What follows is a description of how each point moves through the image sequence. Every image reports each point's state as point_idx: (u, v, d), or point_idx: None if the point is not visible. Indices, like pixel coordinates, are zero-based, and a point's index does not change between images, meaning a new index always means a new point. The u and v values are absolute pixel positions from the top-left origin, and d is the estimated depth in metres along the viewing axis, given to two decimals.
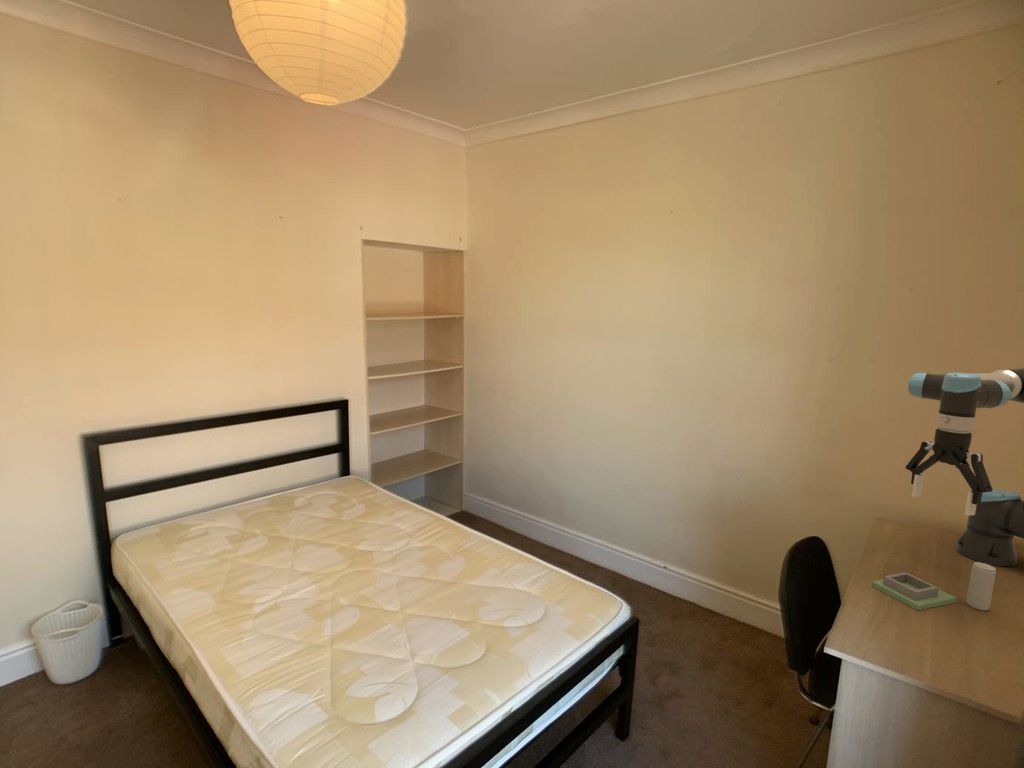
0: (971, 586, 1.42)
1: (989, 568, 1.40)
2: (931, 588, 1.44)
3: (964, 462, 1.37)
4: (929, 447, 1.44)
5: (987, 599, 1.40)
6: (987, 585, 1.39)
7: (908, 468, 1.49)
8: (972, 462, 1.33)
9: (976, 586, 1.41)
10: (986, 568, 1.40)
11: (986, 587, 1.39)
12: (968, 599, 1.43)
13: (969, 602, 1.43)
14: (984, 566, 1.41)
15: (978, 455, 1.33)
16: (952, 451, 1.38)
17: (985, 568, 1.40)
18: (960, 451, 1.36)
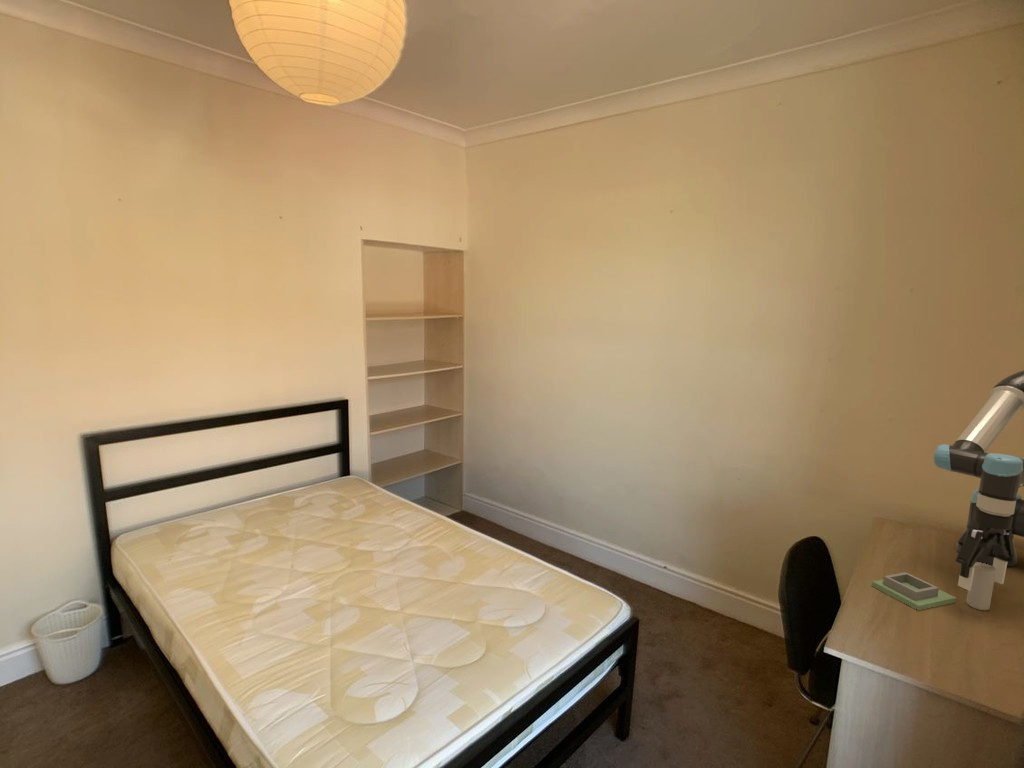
0: (971, 586, 1.42)
1: (989, 568, 1.40)
2: (931, 588, 1.44)
3: None
4: None
5: (987, 599, 1.40)
6: (987, 585, 1.39)
7: None
8: None
9: (976, 586, 1.41)
10: (986, 568, 1.40)
11: (986, 587, 1.39)
12: (968, 599, 1.43)
13: (969, 602, 1.43)
14: (984, 566, 1.41)
15: (973, 531, 1.37)
16: None
17: (985, 568, 1.40)
18: None
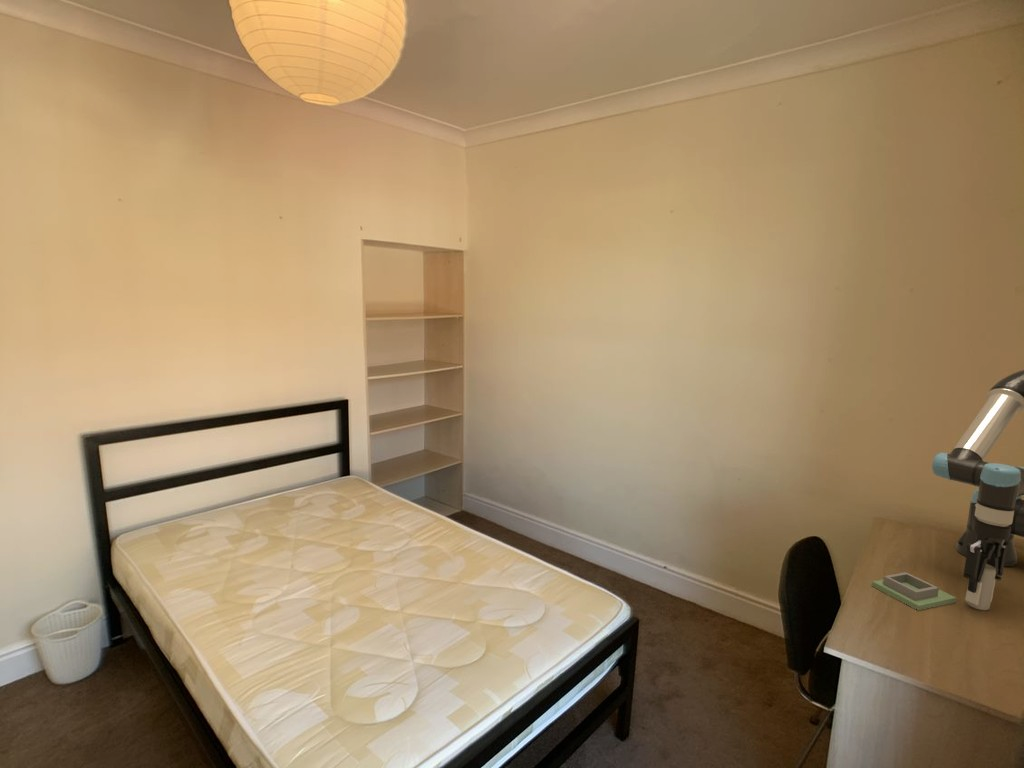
0: None
1: (989, 568, 1.40)
2: (931, 588, 1.44)
3: None
4: None
5: (987, 599, 1.40)
6: (987, 585, 1.39)
7: None
8: None
9: None
10: (986, 568, 1.40)
11: (986, 587, 1.39)
12: None
13: (969, 602, 1.43)
14: None
15: (971, 546, 1.38)
16: None
17: (985, 568, 1.40)
18: None
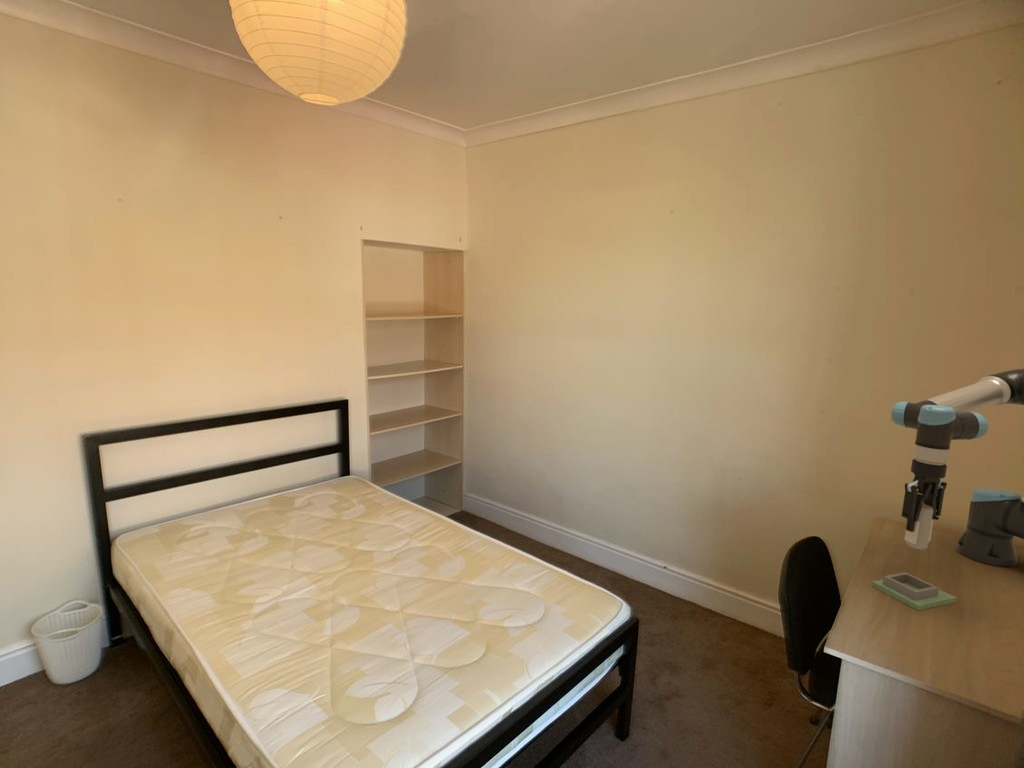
0: None
1: (927, 508, 1.43)
2: (931, 588, 1.44)
3: None
4: None
5: (925, 538, 1.42)
6: (924, 524, 1.42)
7: None
8: None
9: None
10: (924, 508, 1.42)
11: (924, 526, 1.42)
12: None
13: (908, 542, 1.45)
14: (922, 506, 1.44)
15: (908, 486, 1.41)
16: None
17: (923, 508, 1.42)
18: None
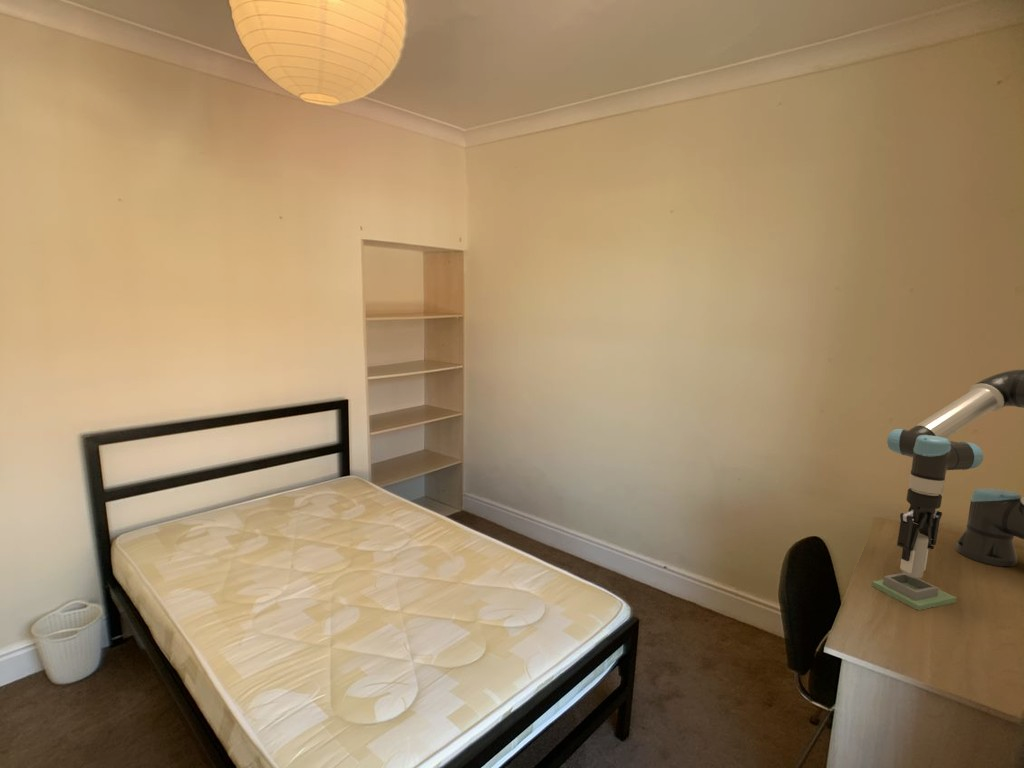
0: None
1: (922, 537, 1.44)
2: (931, 588, 1.44)
3: None
4: None
5: (920, 567, 1.44)
6: (920, 553, 1.43)
7: None
8: None
9: None
10: (919, 537, 1.44)
11: (919, 555, 1.43)
12: None
13: (904, 571, 1.46)
14: (918, 535, 1.45)
15: (903, 516, 1.42)
16: None
17: (918, 537, 1.44)
18: None
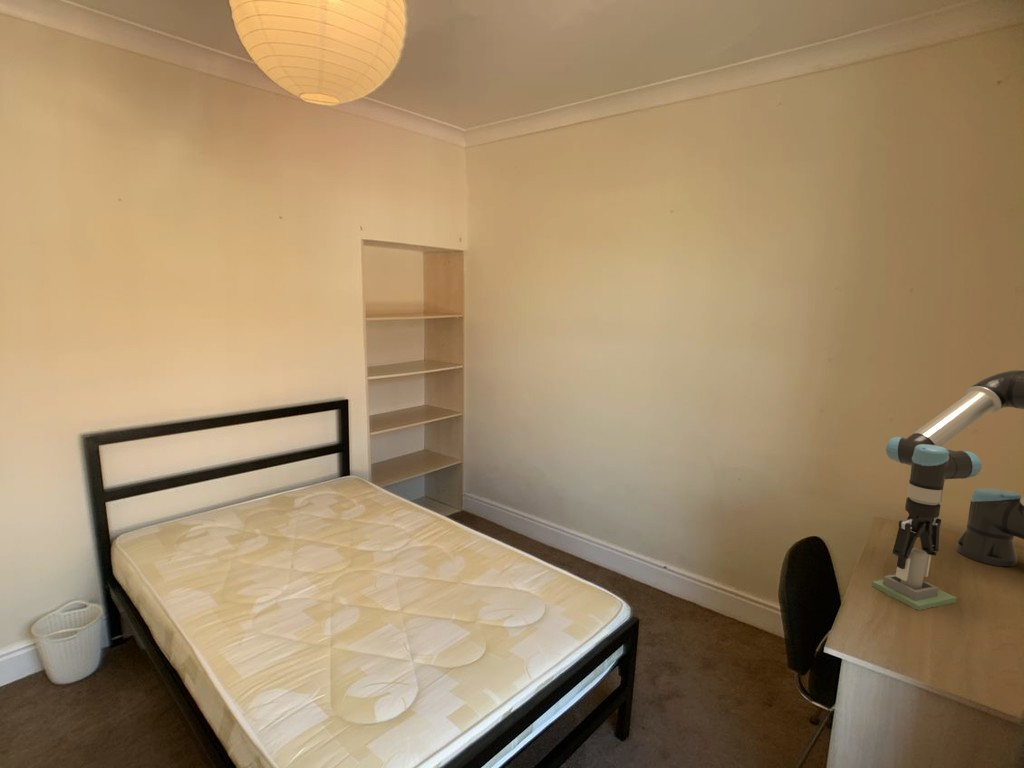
0: None
1: (921, 553, 1.44)
2: (931, 588, 1.44)
3: None
4: None
5: (918, 583, 1.44)
6: (918, 569, 1.44)
7: None
8: None
9: None
10: (918, 553, 1.44)
11: (918, 571, 1.44)
12: None
13: None
14: (917, 551, 1.45)
15: (902, 523, 1.42)
16: None
17: (917, 553, 1.44)
18: None
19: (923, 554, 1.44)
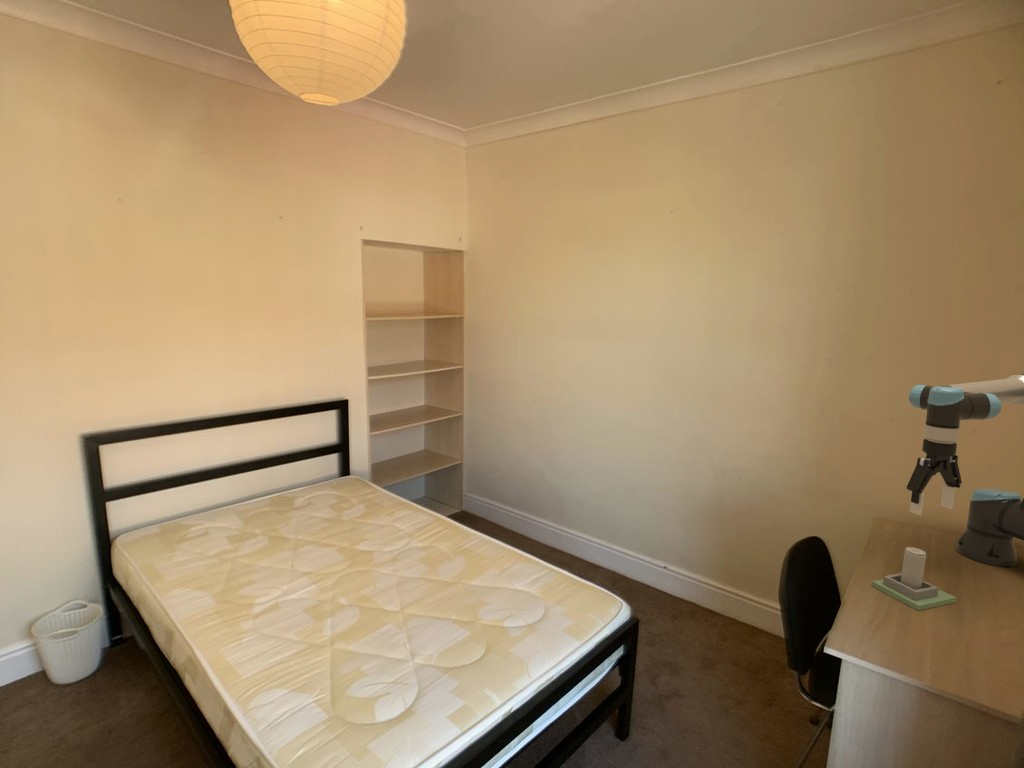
0: (904, 570, 1.46)
1: (920, 552, 1.45)
2: (931, 588, 1.44)
3: None
4: None
5: (918, 582, 1.44)
6: (918, 569, 1.44)
7: None
8: None
9: (908, 570, 1.45)
10: (917, 552, 1.44)
11: (917, 571, 1.44)
12: None
13: None
14: (915, 551, 1.46)
15: (921, 459, 1.47)
16: None
17: (916, 552, 1.44)
18: None
19: (922, 553, 1.44)
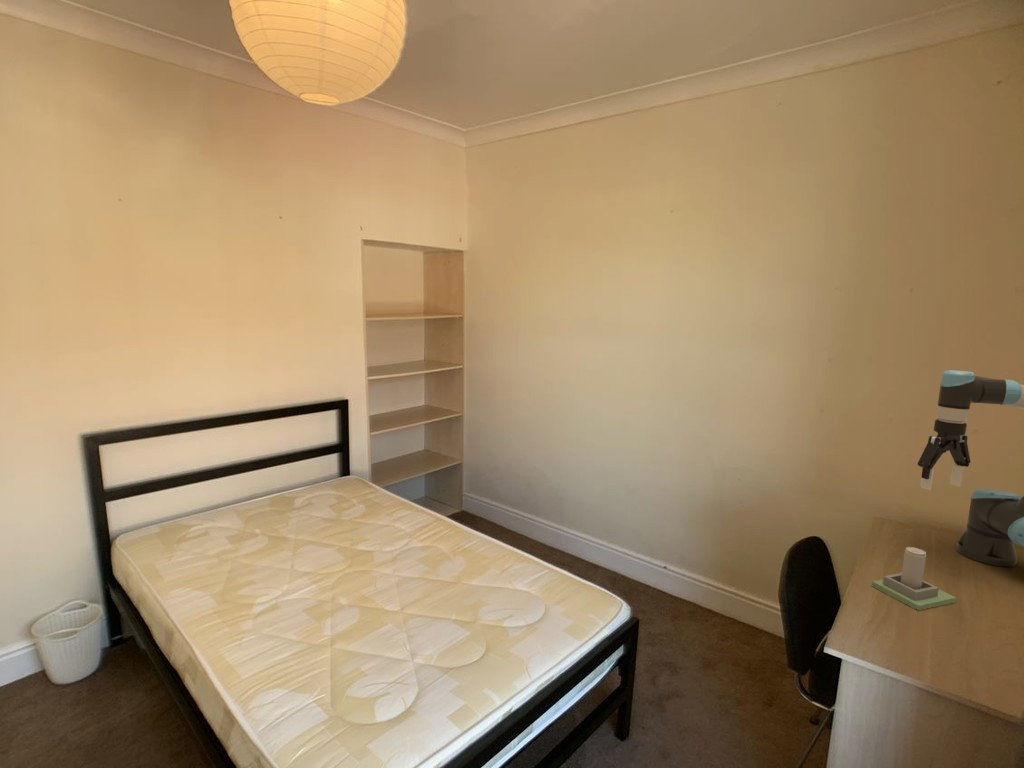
0: (904, 570, 1.46)
1: (920, 552, 1.45)
2: (931, 588, 1.44)
3: None
4: None
5: (918, 582, 1.44)
6: (918, 569, 1.44)
7: None
8: None
9: (908, 570, 1.45)
10: (917, 552, 1.44)
11: (917, 571, 1.44)
12: None
13: None
14: (915, 551, 1.46)
15: (932, 437, 1.57)
16: None
17: (916, 552, 1.44)
18: None
19: (922, 553, 1.44)
